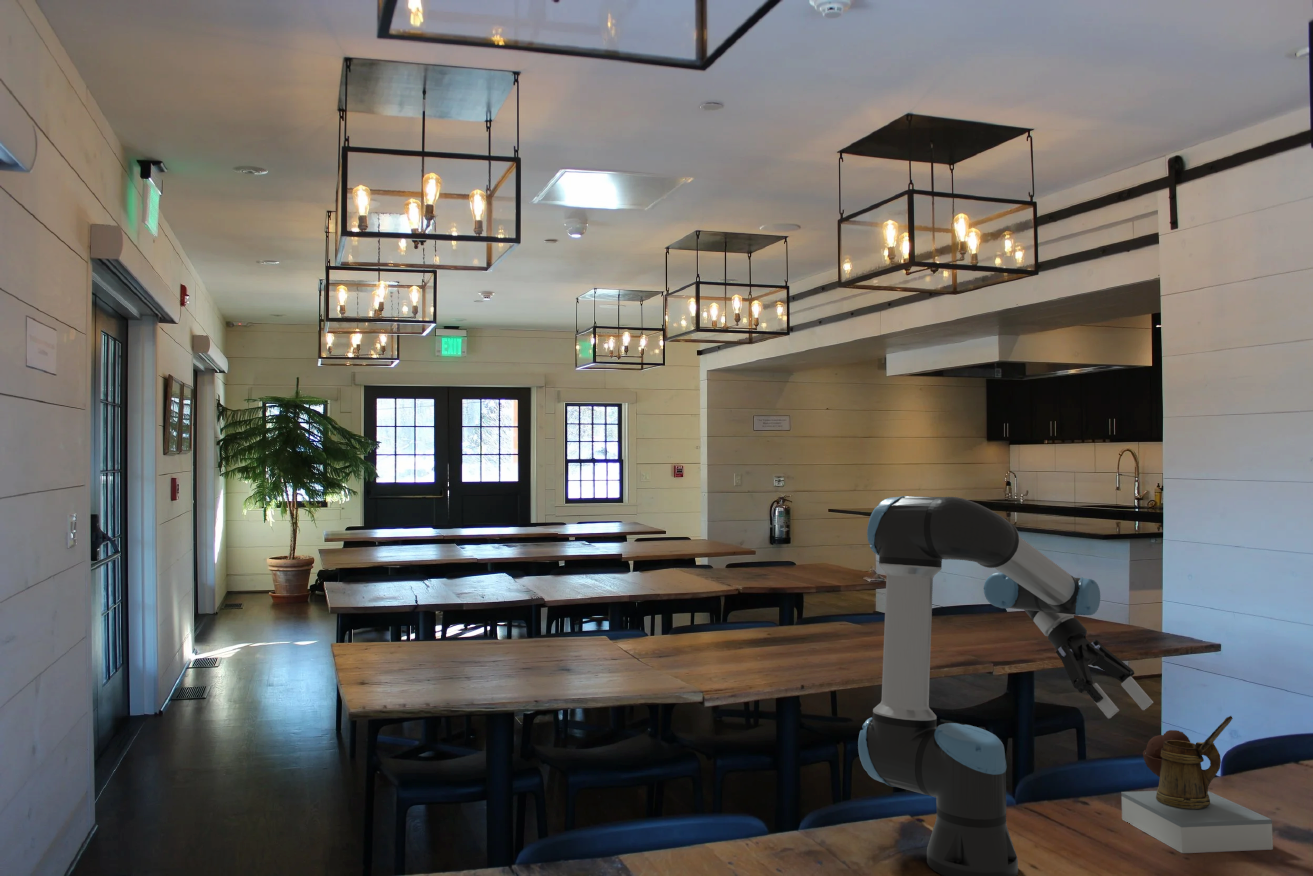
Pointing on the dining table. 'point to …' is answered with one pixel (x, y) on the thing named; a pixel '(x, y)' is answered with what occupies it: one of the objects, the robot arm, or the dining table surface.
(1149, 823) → the grey flat block
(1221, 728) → the wooden mug
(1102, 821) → the dining table surface
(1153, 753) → the ice cream bowl
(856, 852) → the dining table surface
